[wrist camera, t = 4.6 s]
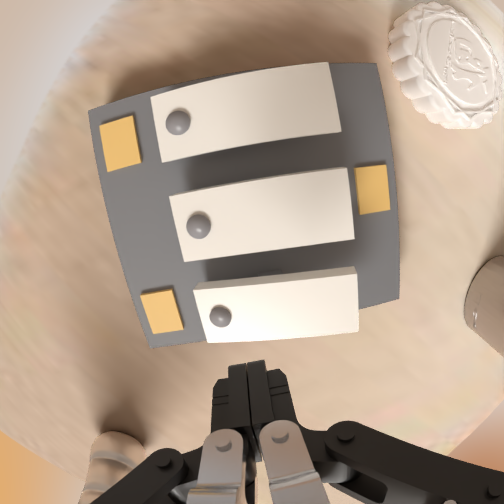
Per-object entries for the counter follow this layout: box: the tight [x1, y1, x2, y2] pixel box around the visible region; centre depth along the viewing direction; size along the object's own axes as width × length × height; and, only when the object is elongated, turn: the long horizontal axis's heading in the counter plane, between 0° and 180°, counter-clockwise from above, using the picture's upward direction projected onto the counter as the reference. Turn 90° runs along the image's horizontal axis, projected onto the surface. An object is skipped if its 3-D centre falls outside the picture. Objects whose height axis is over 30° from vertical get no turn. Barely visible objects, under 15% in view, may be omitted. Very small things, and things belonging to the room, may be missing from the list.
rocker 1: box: [150, 62, 342, 163], centre depth 16 cm, size 10×4×1 cm, turn 100°
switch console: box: [88, 63, 400, 348], centre depth 21 cm, size 20×18×4 cm
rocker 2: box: [193, 266, 359, 343], centre depth 20 cm, size 10×4×1 cm, turn 100°
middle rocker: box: [169, 167, 355, 262], centre depth 18 cm, size 10×4×1 cm, turn 100°
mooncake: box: [388, 1, 502, 129], centre depth 19 cm, size 12×12×4 cm
